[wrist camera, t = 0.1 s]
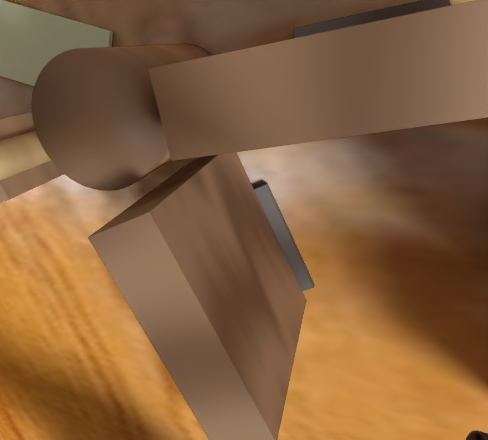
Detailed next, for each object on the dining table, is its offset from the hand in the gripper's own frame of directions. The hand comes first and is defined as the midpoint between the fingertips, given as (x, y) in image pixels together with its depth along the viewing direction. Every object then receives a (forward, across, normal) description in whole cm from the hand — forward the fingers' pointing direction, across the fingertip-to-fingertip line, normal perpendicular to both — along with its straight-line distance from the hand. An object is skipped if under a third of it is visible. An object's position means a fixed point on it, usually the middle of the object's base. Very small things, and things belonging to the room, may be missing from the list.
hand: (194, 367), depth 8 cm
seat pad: (+15, +14, -2) cm, 20 cm away
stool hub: (+15, +1, +1) cm, 15 cm away
